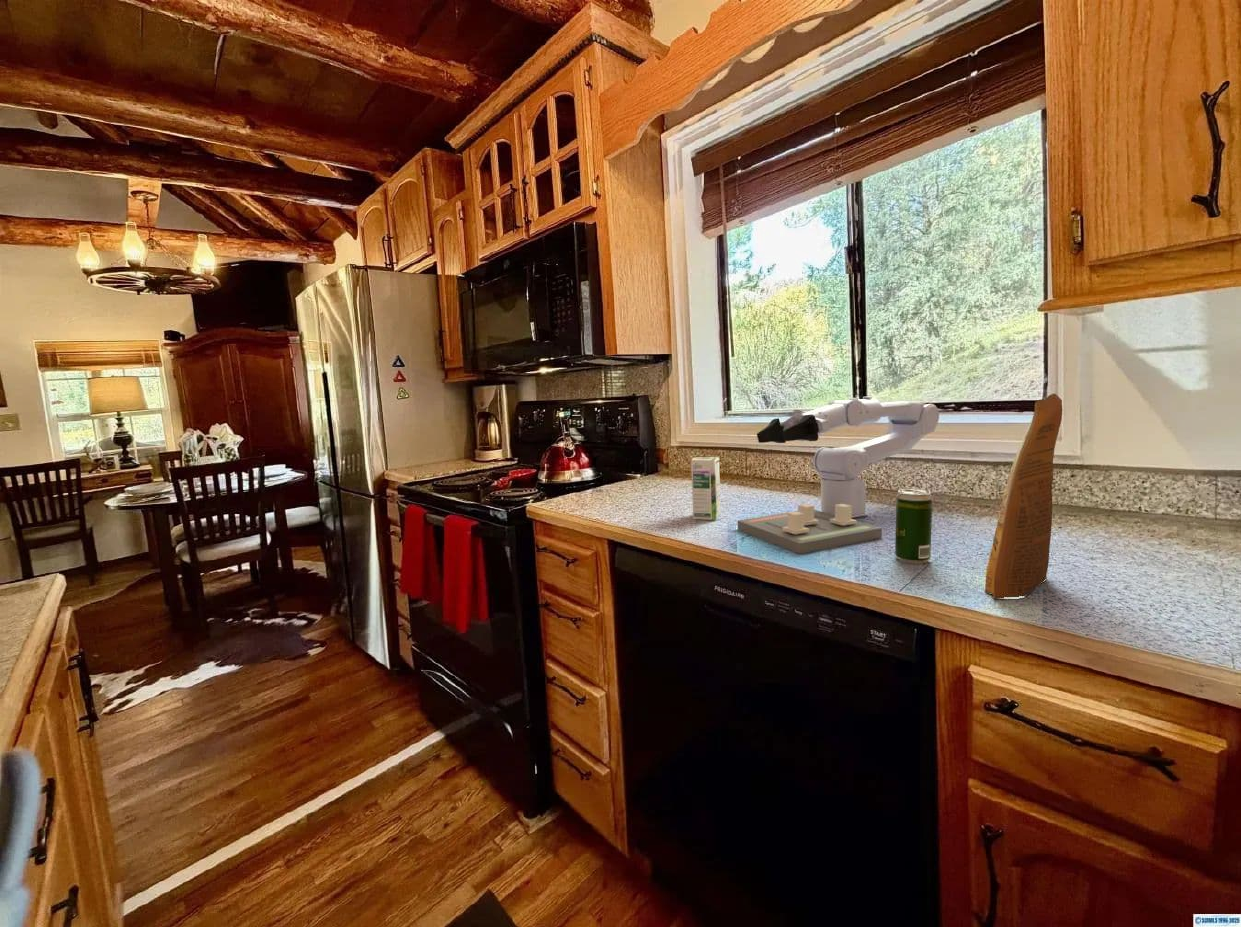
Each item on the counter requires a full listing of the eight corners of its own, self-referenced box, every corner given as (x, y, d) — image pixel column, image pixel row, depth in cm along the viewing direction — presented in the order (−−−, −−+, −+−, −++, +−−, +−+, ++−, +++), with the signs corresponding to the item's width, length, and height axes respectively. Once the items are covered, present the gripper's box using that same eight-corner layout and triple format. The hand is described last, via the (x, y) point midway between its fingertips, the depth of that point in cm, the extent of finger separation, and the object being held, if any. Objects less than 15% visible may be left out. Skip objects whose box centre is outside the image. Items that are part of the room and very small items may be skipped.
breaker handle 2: (843, 519, 112) (843, 502, 112) (856, 523, 109) (856, 505, 108) (829, 521, 111) (829, 504, 110) (842, 525, 108) (843, 508, 107)
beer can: (937, 561, 92) (939, 492, 90) (916, 567, 89) (918, 496, 88) (908, 553, 96) (910, 487, 95) (888, 558, 94) (889, 491, 92)
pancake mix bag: (1069, 576, 82) (1082, 392, 78) (1027, 612, 71) (1040, 398, 67) (1017, 565, 88) (1026, 393, 84) (970, 598, 76) (979, 399, 72)
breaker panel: (810, 517, 125) (810, 508, 124) (881, 537, 106) (881, 527, 106) (737, 529, 117) (737, 520, 117) (800, 553, 99) (799, 543, 99)
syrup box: (692, 519, 128) (690, 459, 126) (698, 514, 133) (696, 455, 131) (716, 520, 126) (714, 459, 124) (721, 514, 131) (719, 455, 129)
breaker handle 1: (796, 527, 108) (796, 510, 107) (809, 531, 105) (809, 513, 104) (782, 530, 107) (782, 512, 106) (794, 534, 103) (794, 516, 103)
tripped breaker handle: (807, 519, 114) (807, 502, 113) (819, 523, 110) (819, 505, 110) (793, 521, 112) (793, 504, 112) (805, 525, 109) (805, 508, 109)
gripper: (789, 407, 125) (744, 421, 119) (839, 400, 112) (792, 415, 106) (795, 437, 125) (751, 452, 120) (846, 433, 112) (799, 450, 107)
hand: (771, 437), depth 113 cm, fingers open, 7 cm apart
